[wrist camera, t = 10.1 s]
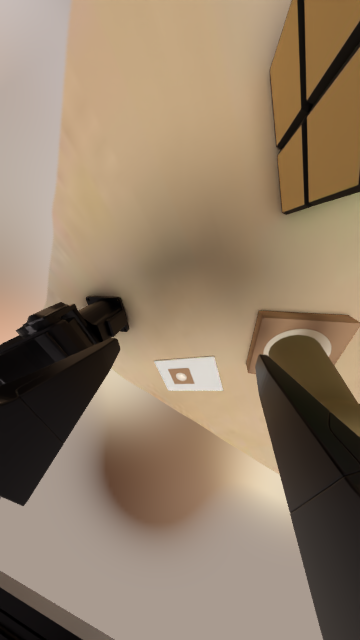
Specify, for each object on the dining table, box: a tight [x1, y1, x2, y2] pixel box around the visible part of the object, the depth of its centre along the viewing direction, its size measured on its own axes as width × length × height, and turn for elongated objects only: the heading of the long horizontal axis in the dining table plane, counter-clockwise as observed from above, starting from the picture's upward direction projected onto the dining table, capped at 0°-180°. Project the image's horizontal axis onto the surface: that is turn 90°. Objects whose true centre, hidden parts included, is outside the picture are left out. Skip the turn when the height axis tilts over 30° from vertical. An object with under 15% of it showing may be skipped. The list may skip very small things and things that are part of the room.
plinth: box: [246, 311, 360, 374], centre depth 21 cm, size 10×10×2 cm
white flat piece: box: [154, 356, 223, 391], centre depth 29 cm, size 12×9×1 cm
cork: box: [268, 335, 360, 437], centre depth 15 cm, size 6×6×11 cm
